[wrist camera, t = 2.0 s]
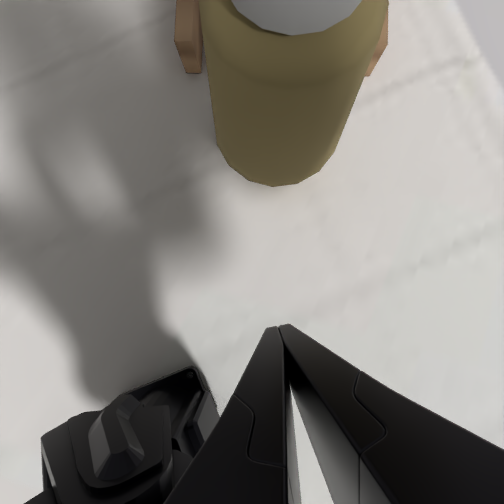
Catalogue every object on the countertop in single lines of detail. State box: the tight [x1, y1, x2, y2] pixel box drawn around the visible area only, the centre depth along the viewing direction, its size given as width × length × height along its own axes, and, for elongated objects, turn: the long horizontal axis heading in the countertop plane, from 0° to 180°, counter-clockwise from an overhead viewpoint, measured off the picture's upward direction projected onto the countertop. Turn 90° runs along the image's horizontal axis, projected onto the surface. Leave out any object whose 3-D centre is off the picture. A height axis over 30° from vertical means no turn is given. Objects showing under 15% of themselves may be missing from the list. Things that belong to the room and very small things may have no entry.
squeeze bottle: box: [198, 0, 389, 187], centre depth 12 cm, size 8×8×18 cm
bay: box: [174, 0, 388, 76], centre depth 20 cm, size 9×14×3 cm, turn 88°
